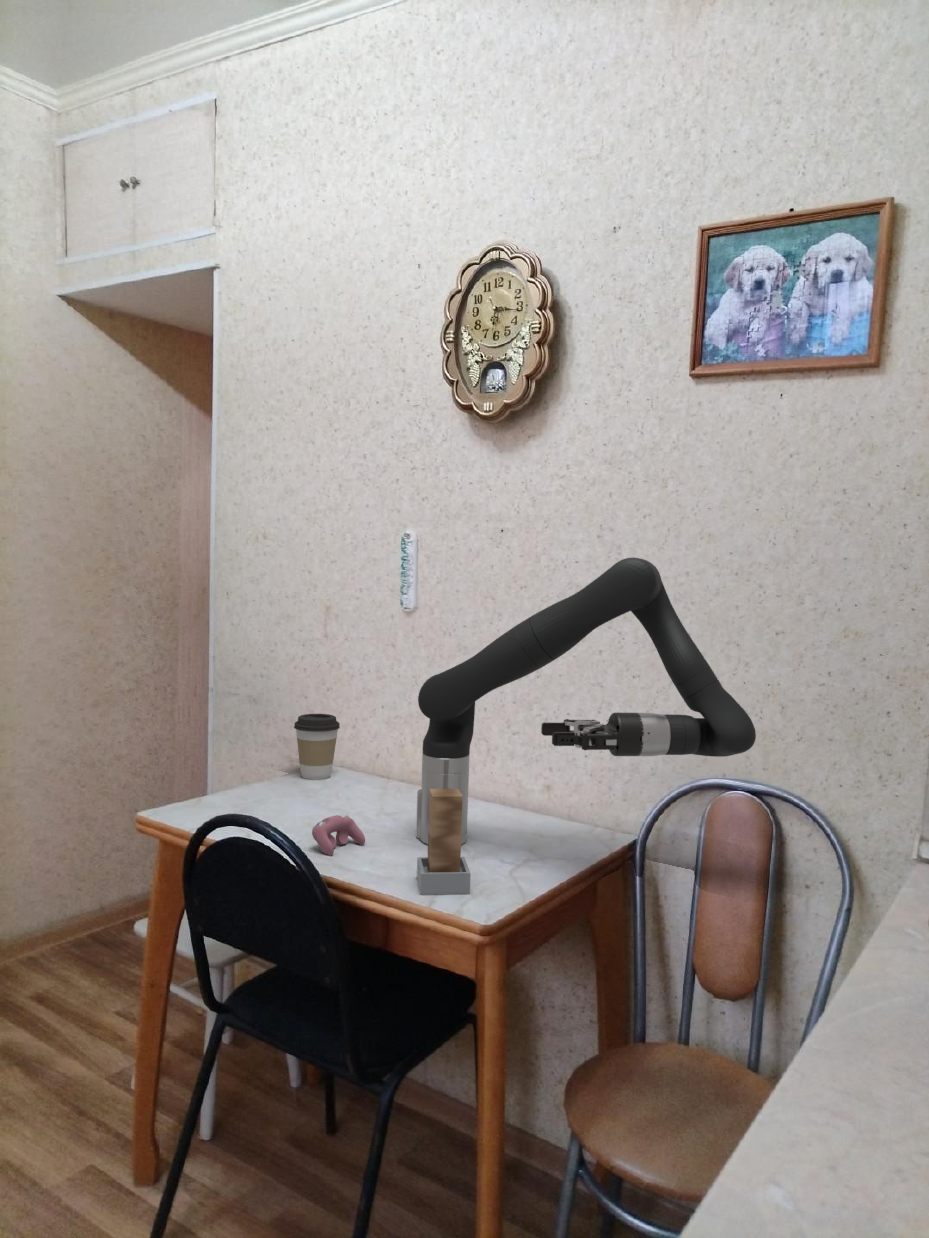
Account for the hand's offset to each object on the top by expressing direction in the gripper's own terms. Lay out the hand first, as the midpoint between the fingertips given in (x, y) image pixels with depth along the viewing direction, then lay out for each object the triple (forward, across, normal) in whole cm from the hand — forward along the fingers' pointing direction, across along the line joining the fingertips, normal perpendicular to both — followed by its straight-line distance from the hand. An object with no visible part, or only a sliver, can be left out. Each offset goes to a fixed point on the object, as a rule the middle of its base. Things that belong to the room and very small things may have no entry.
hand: (547, 733), depth 154 cm
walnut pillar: (+17, +1, +24) cm, 30 cm away
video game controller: (+35, -20, +26) cm, 48 cm away
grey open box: (+17, +1, +26) cm, 31 cm away
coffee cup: (+41, -75, +26) cm, 89 cm away
